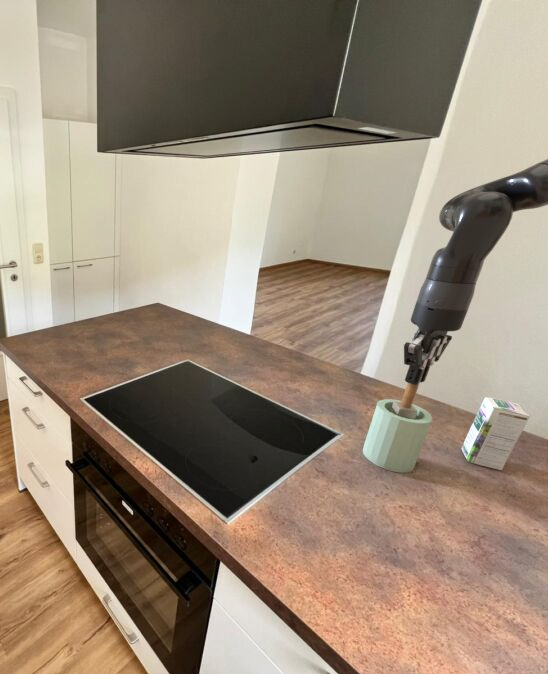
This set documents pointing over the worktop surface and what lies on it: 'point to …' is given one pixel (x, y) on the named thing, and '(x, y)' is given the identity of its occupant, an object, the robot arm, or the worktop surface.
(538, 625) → the worktop surface
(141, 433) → the worktop surface
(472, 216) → the robot arm
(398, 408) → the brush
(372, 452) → the mint green cup
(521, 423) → the syrup box
